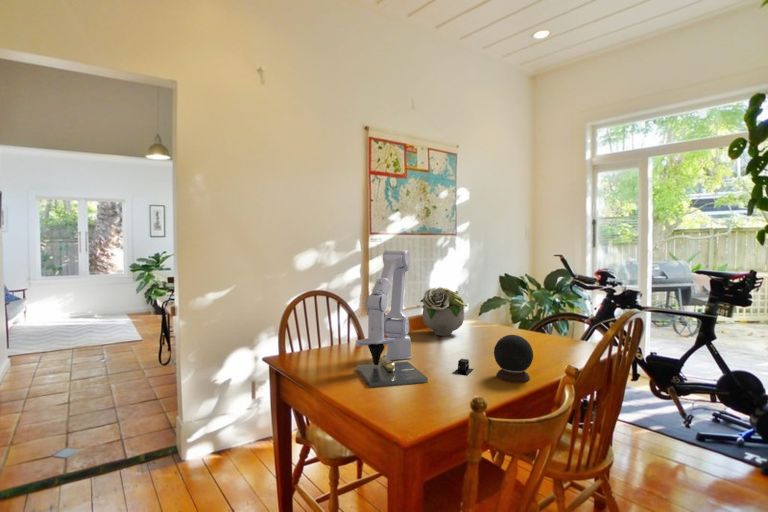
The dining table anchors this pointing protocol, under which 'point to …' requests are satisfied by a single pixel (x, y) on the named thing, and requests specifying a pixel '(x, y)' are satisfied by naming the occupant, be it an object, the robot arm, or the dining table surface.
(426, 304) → the flower arrangement
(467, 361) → the black block on base
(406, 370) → the lock plate
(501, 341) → the spherical smart speaker
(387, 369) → the lever
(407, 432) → the dining table surface
